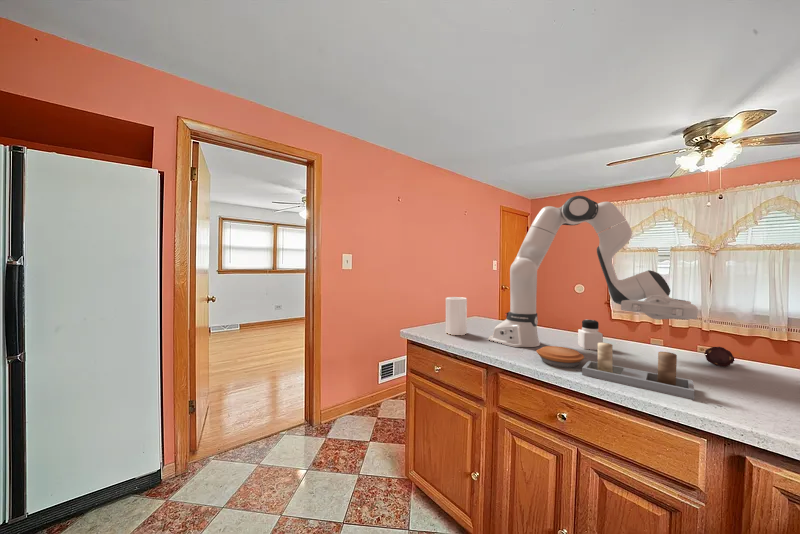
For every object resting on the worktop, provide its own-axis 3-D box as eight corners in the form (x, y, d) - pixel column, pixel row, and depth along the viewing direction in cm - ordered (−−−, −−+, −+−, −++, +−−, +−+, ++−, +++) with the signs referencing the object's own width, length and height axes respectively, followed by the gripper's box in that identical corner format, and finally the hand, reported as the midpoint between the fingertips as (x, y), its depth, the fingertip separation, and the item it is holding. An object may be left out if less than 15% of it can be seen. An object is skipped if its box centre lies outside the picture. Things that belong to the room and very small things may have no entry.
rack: (582, 375, 97) (582, 367, 97) (588, 367, 104) (588, 360, 104) (694, 400, 79) (694, 390, 79) (692, 388, 87) (692, 380, 87)
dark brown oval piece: (740, 354, 99) (734, 349, 110) (709, 345, 104) (707, 341, 115) (732, 374, 100) (727, 367, 110) (702, 363, 105) (700, 357, 115)
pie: (590, 363, 109) (590, 350, 109) (574, 373, 99) (574, 358, 99) (547, 354, 121) (547, 341, 121) (529, 362, 110) (529, 348, 110)
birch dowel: (596, 374, 97) (596, 344, 97) (599, 371, 100) (598, 341, 100) (611, 378, 94) (611, 346, 94) (613, 374, 97) (613, 344, 97)
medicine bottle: (602, 350, 126) (603, 322, 125) (584, 349, 127) (584, 321, 127) (595, 345, 133) (595, 319, 132) (577, 345, 134) (578, 318, 134)
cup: (470, 333, 156) (471, 297, 156) (460, 337, 148) (460, 299, 148) (452, 330, 164) (452, 296, 164) (441, 333, 155) (441, 298, 155)
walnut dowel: (657, 388, 87) (658, 354, 86) (657, 383, 90) (658, 350, 89) (676, 392, 84) (677, 357, 84) (675, 387, 87) (676, 353, 87)
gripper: (623, 295, 117) (618, 297, 107) (696, 301, 103) (699, 305, 93) (622, 311, 117) (617, 315, 107) (695, 320, 103) (697, 325, 93)
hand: (655, 310), depth 100 cm, fingers open, 8 cm apart
